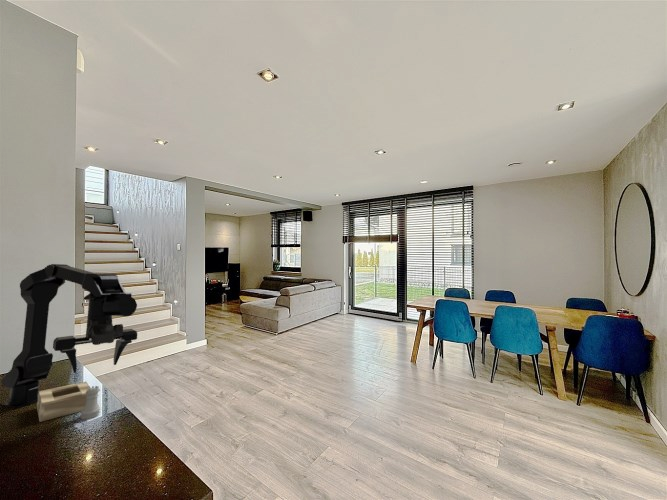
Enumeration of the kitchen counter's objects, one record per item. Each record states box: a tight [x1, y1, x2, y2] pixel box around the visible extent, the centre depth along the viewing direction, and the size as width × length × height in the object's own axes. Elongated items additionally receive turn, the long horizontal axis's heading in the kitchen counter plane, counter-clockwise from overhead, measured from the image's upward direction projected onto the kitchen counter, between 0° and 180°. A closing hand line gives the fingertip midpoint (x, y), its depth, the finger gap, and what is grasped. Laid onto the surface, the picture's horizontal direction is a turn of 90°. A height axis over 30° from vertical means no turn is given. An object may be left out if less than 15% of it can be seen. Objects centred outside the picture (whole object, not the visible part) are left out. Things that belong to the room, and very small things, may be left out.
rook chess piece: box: [80, 385, 101, 420], centre depth 82 cm, size 4×4×8 cm
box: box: [36, 381, 91, 423], centre depth 85 cm, size 11×11×5 cm
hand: (95, 368), depth 83 cm, fingers open, 9 cm apart
